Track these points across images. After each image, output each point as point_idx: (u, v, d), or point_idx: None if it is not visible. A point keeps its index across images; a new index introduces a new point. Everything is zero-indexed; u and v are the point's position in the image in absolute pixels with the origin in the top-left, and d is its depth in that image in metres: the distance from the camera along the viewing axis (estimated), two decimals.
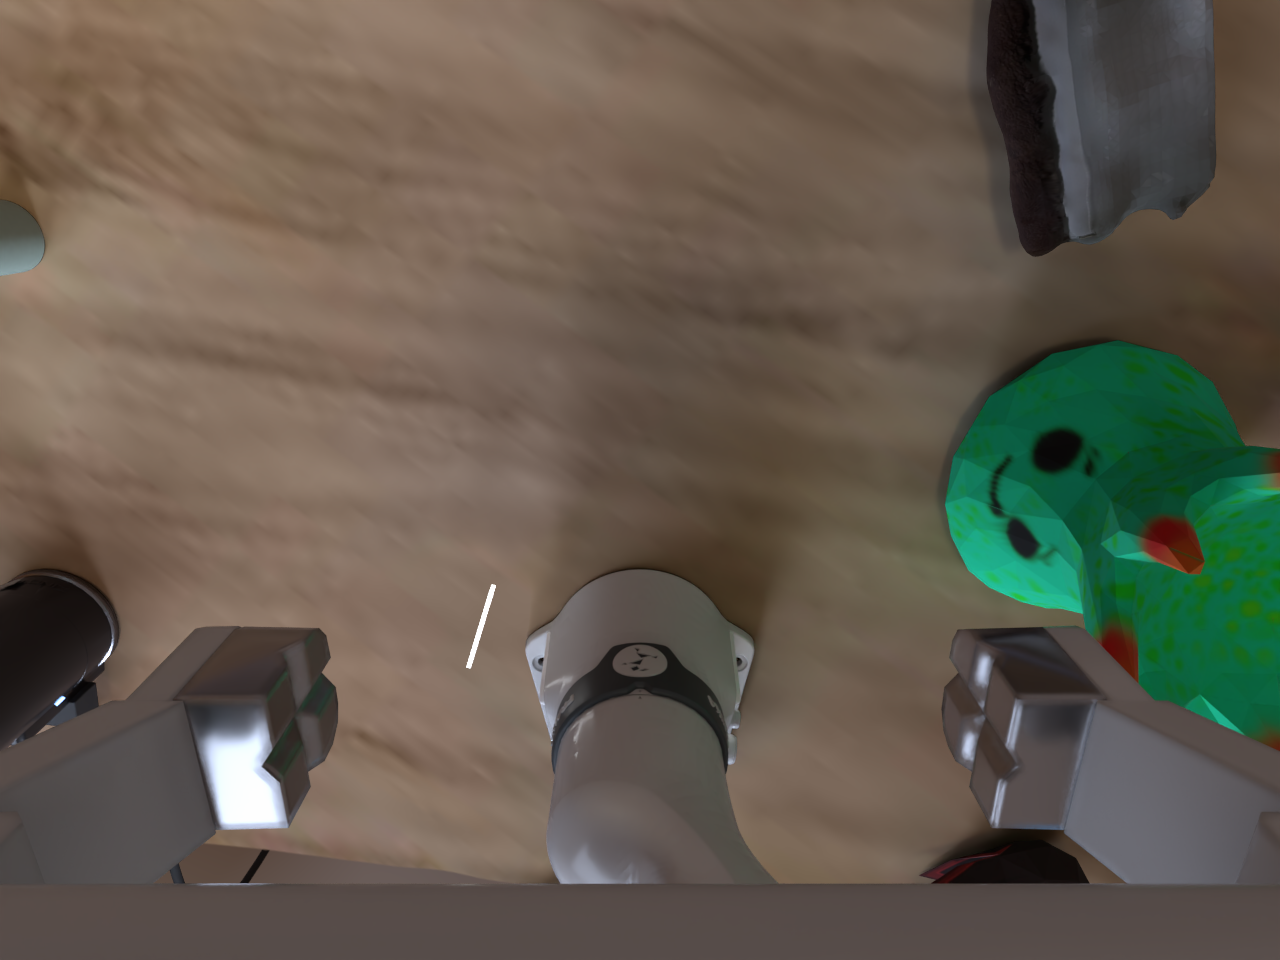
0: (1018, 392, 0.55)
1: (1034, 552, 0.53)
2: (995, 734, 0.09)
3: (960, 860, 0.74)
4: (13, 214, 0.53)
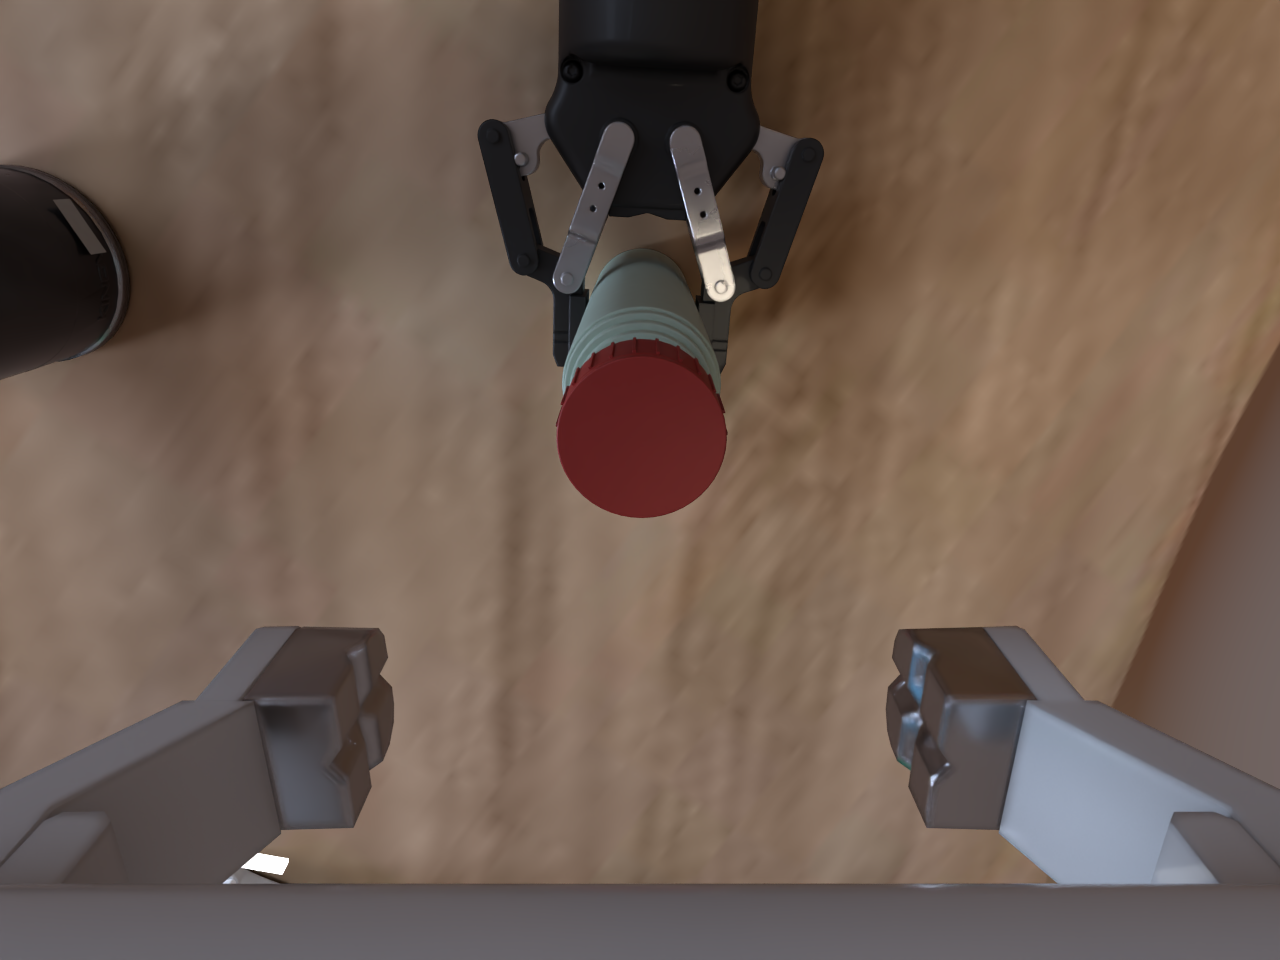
0: None
1: None
2: (931, 734, 0.09)
3: None
4: None
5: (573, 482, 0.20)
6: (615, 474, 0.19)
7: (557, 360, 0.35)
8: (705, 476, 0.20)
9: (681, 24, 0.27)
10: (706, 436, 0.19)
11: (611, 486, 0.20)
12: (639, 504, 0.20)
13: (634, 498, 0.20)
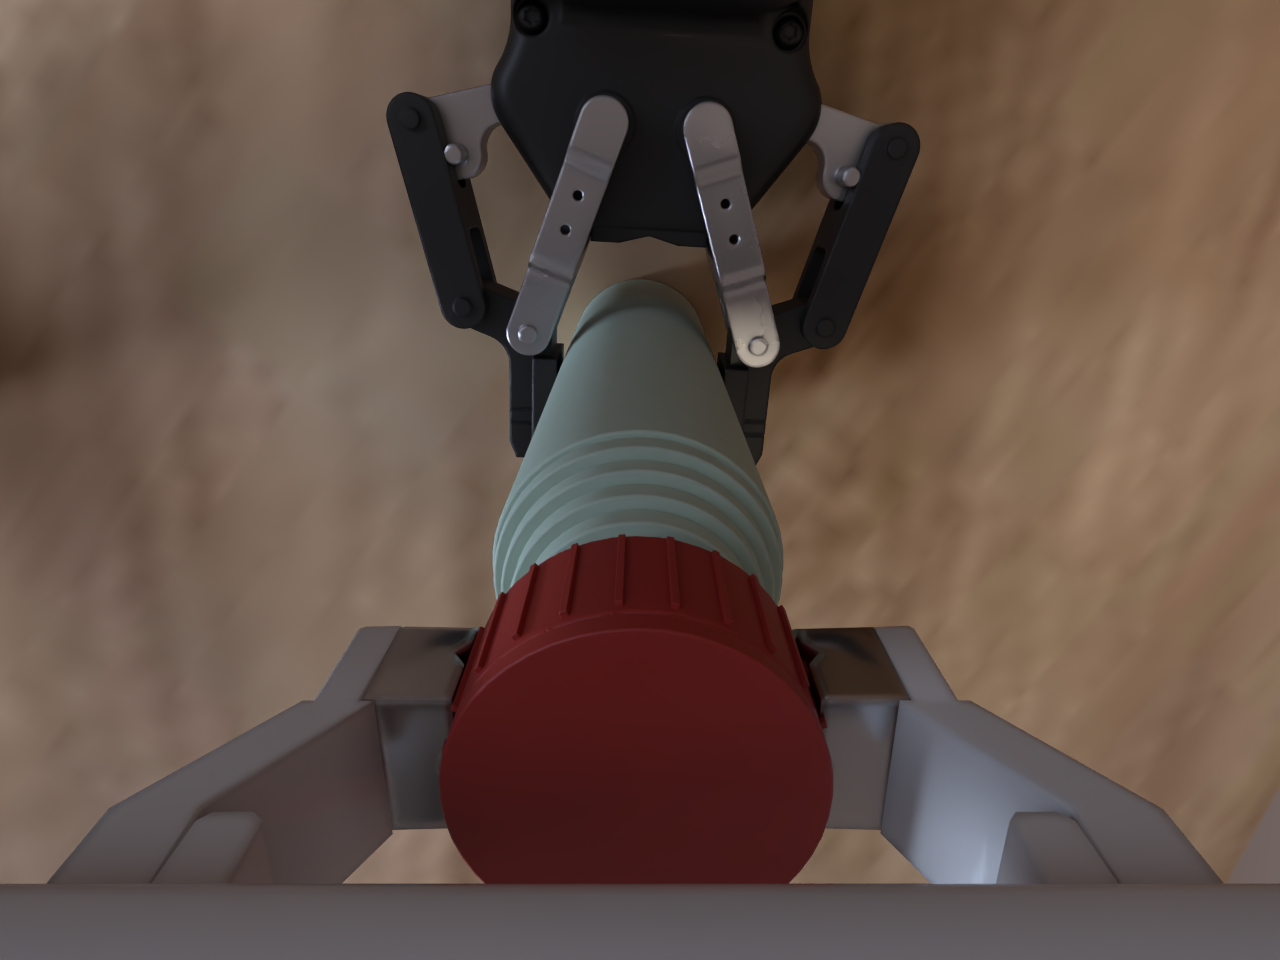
0: None
1: None
2: None
3: None
4: None
5: (485, 868, 0.09)
6: (576, 863, 0.09)
7: (516, 448, 0.24)
8: (780, 866, 0.09)
9: None
10: (786, 791, 0.08)
11: None
12: None
13: None
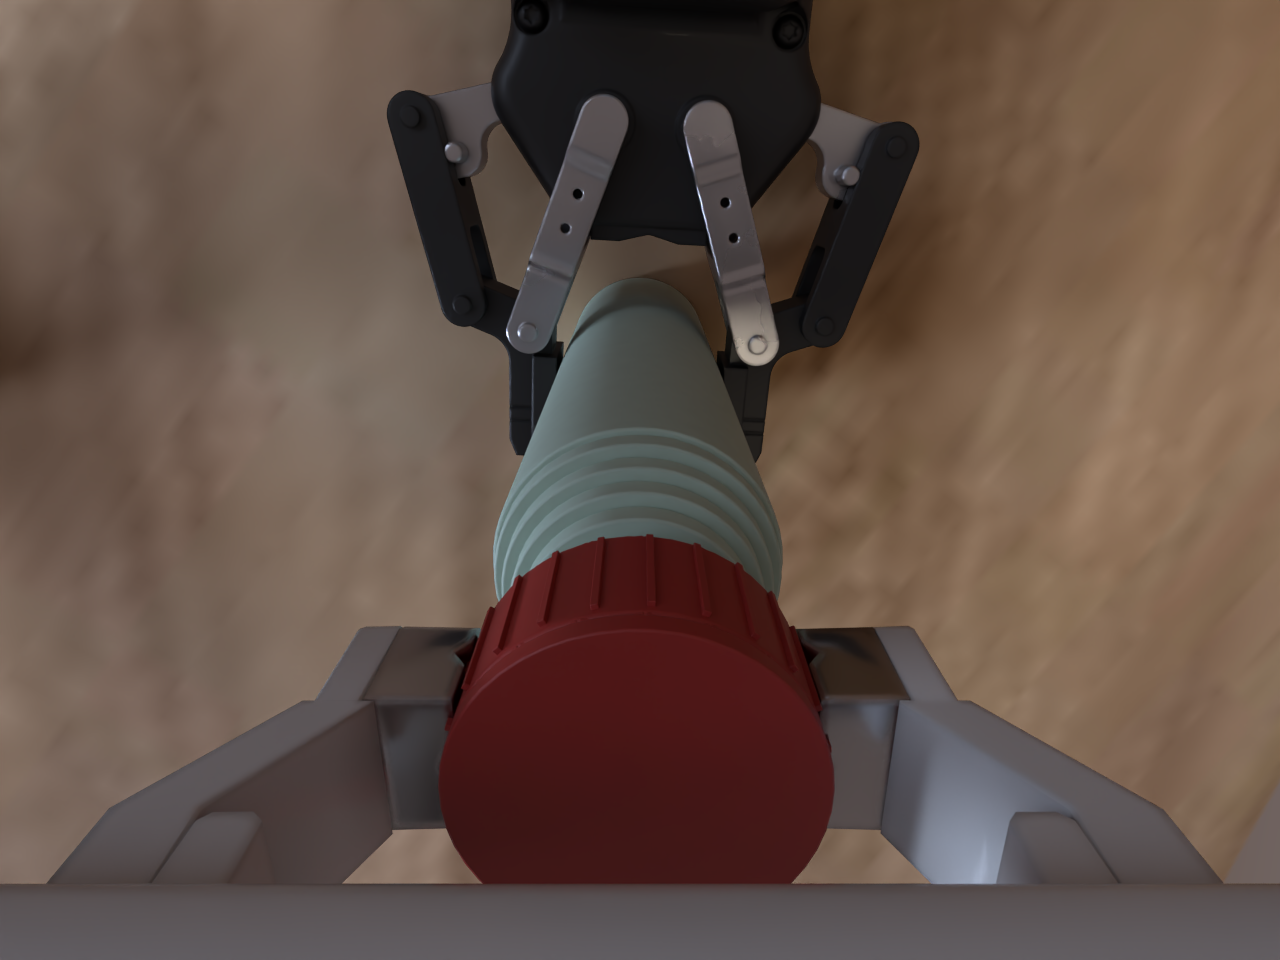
0: None
1: None
2: None
3: None
4: None
5: None
6: (712, 854, 0.08)
7: (516, 446, 0.24)
8: (746, 680, 0.08)
9: None
10: (639, 673, 0.08)
11: (741, 861, 0.09)
12: (795, 815, 0.08)
13: (778, 824, 0.08)
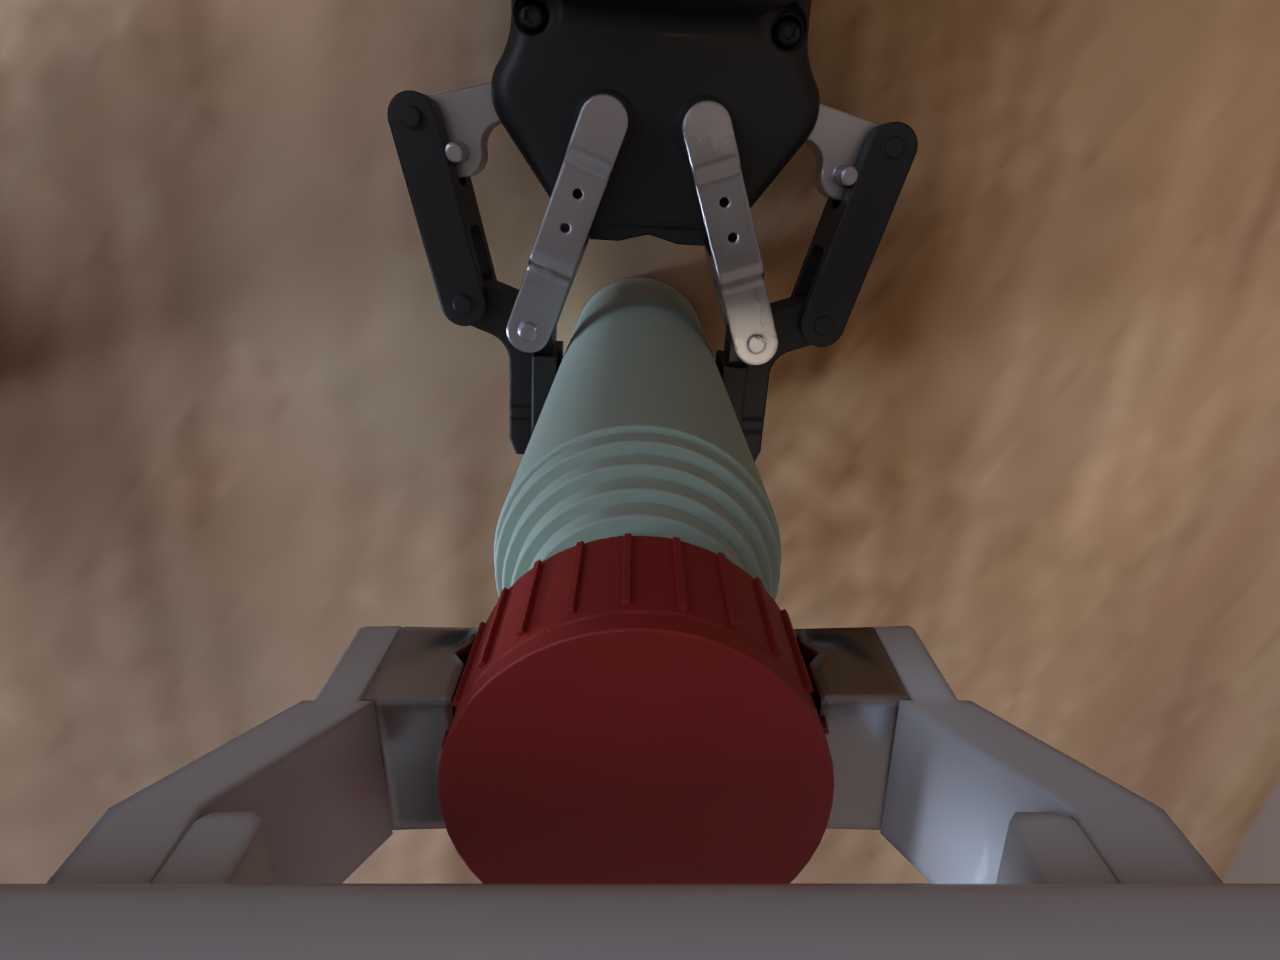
0: None
1: None
2: None
3: None
4: None
5: (819, 720, 0.08)
6: (714, 742, 0.08)
7: (516, 445, 0.24)
8: (495, 704, 0.08)
9: None
10: (485, 786, 0.08)
11: (730, 715, 0.08)
12: (671, 665, 0.08)
13: (680, 682, 0.08)
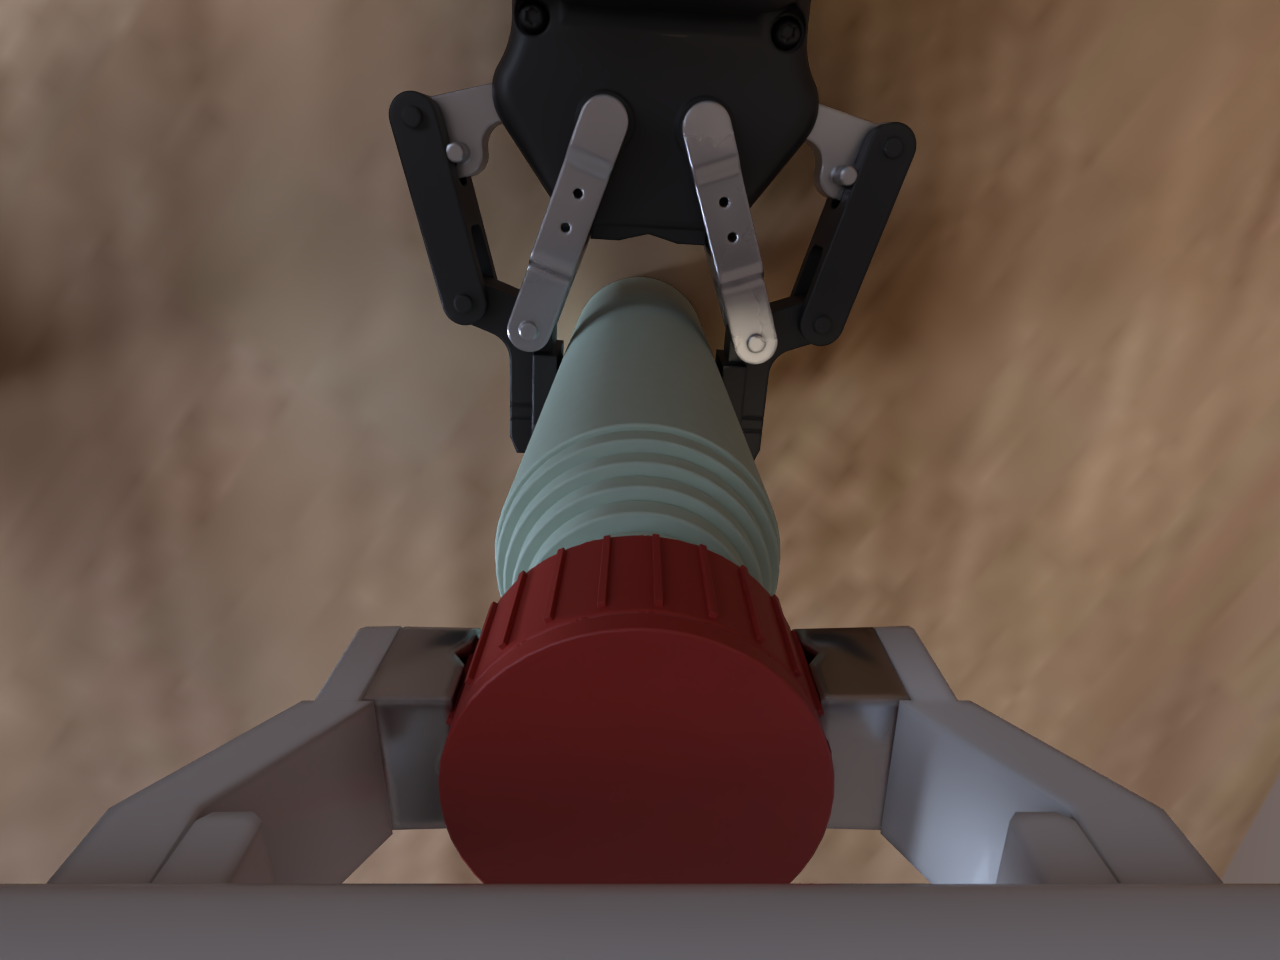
0: None
1: None
2: None
3: None
4: None
5: (564, 628, 0.08)
6: (568, 734, 0.08)
7: (516, 444, 0.24)
8: None
9: None
10: None
11: (538, 718, 0.08)
12: (478, 762, 0.08)
13: (496, 756, 0.08)
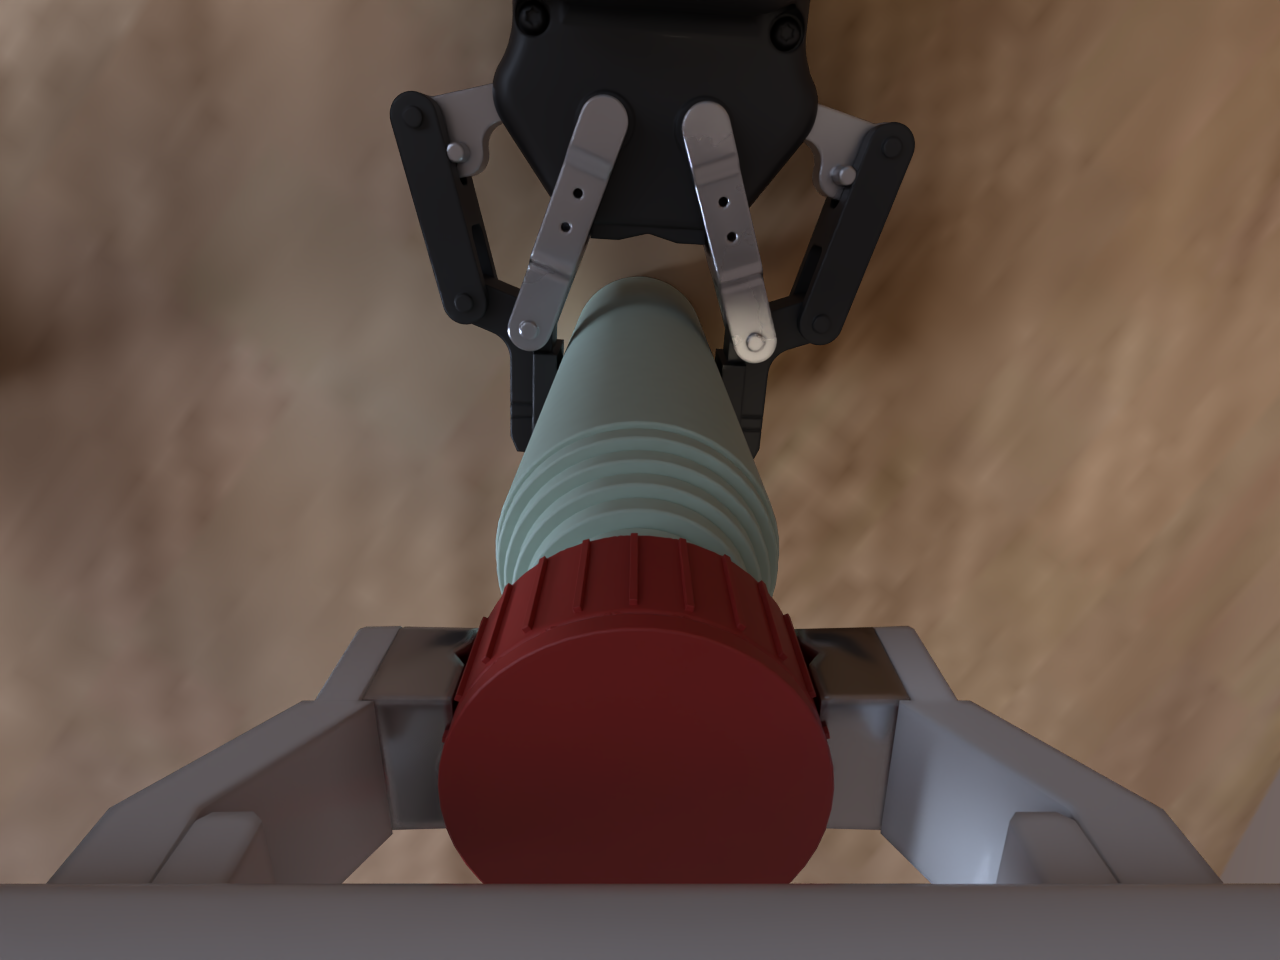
0: None
1: None
2: None
3: None
4: None
5: (452, 824, 0.09)
6: (552, 844, 0.08)
7: (517, 443, 0.24)
8: None
9: None
10: (778, 831, 0.08)
11: (533, 862, 0.09)
12: None
13: None
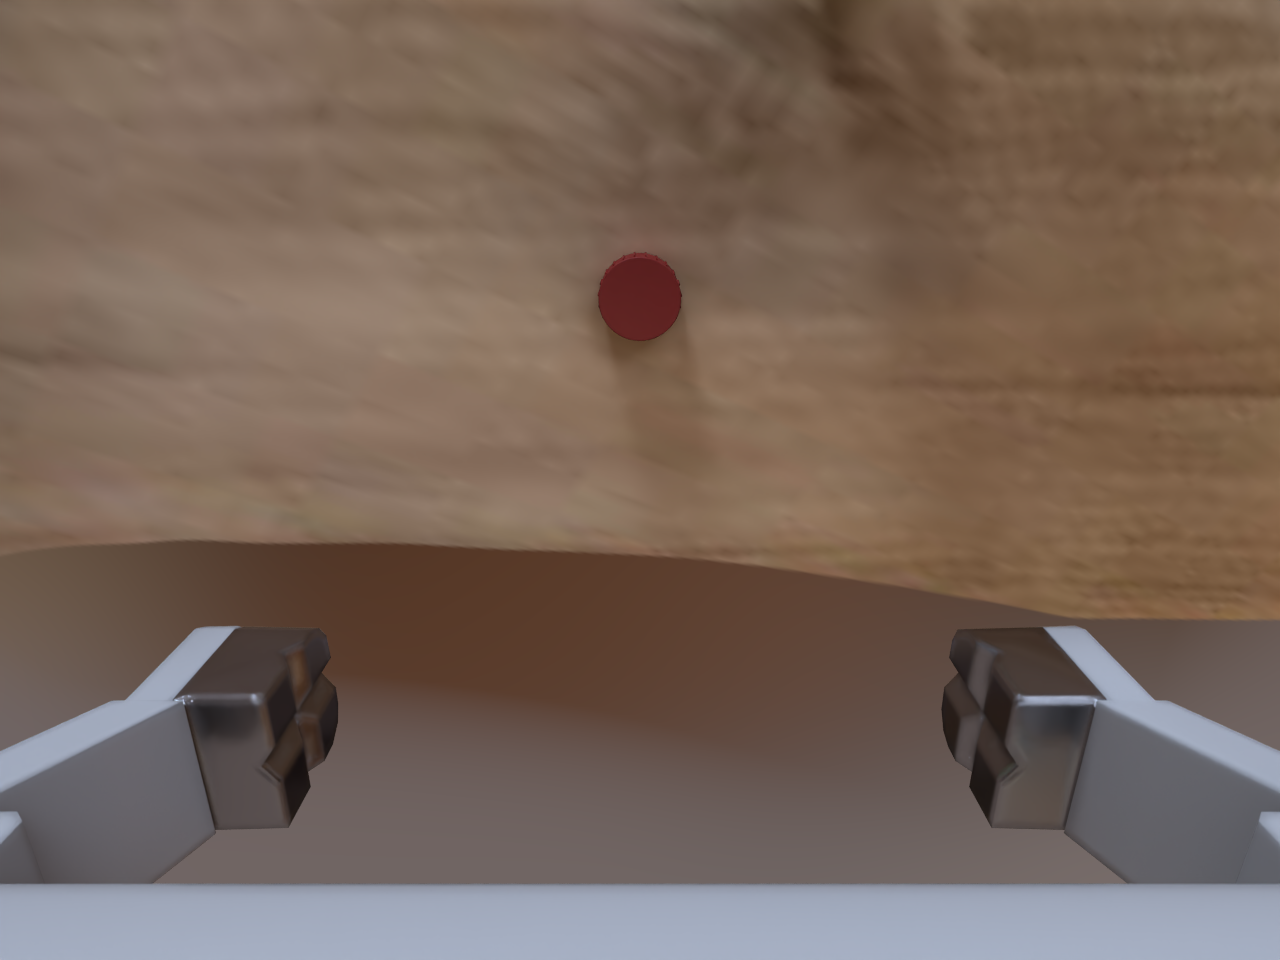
0: None
1: None
2: (995, 734, 0.09)
3: None
4: None
5: (646, 339, 0.40)
6: (650, 318, 0.40)
7: None
8: (670, 278, 0.39)
9: None
10: (651, 269, 0.39)
11: (655, 323, 0.40)
12: (669, 315, 0.40)
13: (665, 315, 0.40)
